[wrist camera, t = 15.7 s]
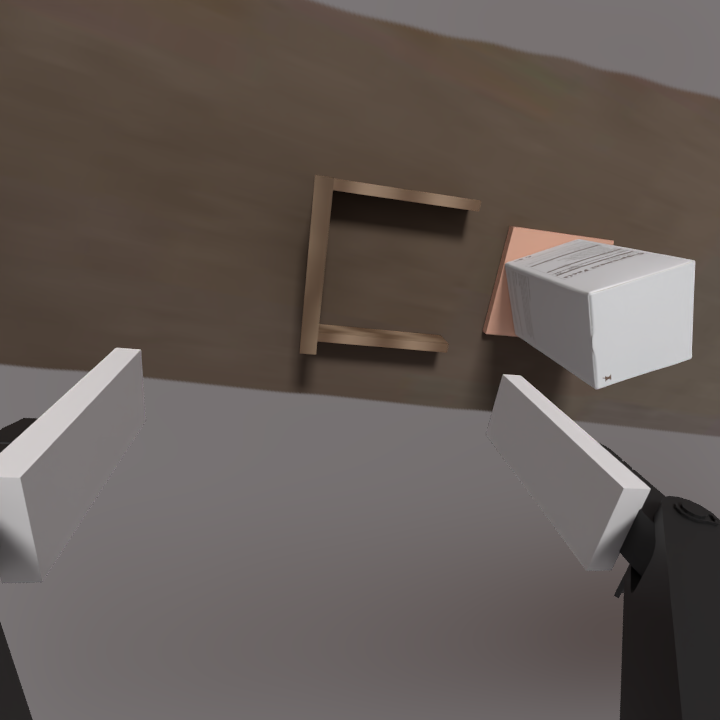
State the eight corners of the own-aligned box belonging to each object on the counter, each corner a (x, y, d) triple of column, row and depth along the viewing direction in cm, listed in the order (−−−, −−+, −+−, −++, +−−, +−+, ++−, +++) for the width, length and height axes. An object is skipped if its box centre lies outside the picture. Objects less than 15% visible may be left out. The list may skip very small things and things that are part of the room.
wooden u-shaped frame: (300, 330, 47) (299, 353, 40) (313, 176, 41) (315, 174, 35) (438, 343, 49) (458, 366, 43) (470, 199, 43) (498, 202, 37)
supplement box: (586, 312, 49) (695, 362, 35) (513, 335, 49) (594, 394, 35) (581, 235, 45) (701, 258, 32) (502, 261, 45) (588, 294, 32)
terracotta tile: (482, 331, 49) (485, 333, 49) (509, 225, 45) (513, 226, 44) (573, 339, 51) (578, 342, 50) (608, 239, 47) (614, 241, 46)
